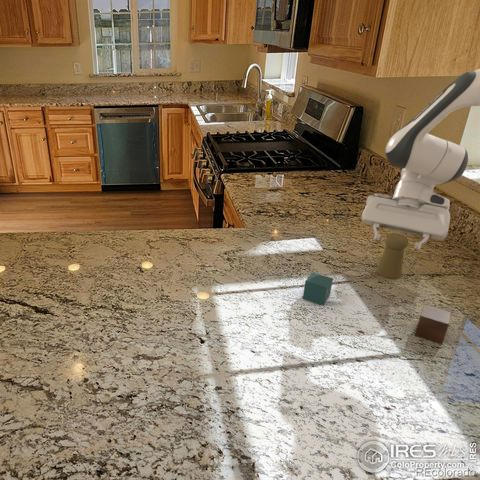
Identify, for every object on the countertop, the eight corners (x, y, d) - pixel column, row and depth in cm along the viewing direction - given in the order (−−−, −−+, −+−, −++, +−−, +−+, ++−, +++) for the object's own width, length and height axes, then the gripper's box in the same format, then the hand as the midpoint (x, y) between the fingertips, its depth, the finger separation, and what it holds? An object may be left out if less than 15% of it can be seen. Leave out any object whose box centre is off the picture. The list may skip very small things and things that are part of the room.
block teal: (302, 298, 102) (305, 280, 100) (309, 289, 106) (312, 272, 104) (323, 305, 100) (326, 287, 97) (329, 295, 103) (333, 278, 101)
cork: (372, 273, 113) (381, 235, 108) (380, 265, 117) (389, 228, 112) (397, 281, 109) (407, 242, 104) (404, 272, 113) (414, 235, 108)
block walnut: (414, 335, 90) (420, 315, 87) (418, 323, 93) (423, 304, 91) (442, 344, 87) (449, 324, 85) (444, 331, 91) (451, 312, 88)
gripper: (369, 186, 116) (353, 231, 114) (457, 201, 106) (442, 251, 103) (369, 197, 122) (354, 240, 119) (453, 212, 111) (439, 260, 108)
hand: (395, 245), depth 111 cm, fingers open, 8 cm apart
